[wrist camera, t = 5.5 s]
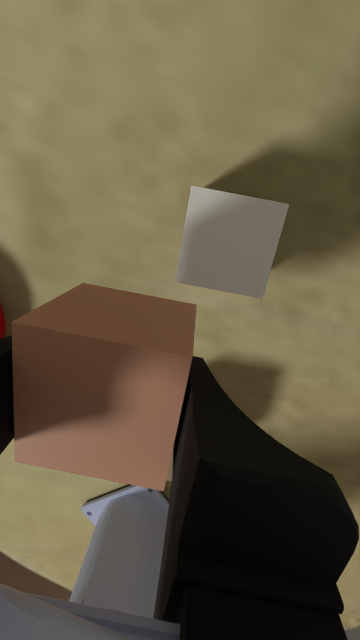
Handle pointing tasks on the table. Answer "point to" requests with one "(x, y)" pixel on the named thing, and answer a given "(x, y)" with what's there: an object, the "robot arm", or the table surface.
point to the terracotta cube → (101, 383)
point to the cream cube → (229, 241)
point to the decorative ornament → (2, 323)
